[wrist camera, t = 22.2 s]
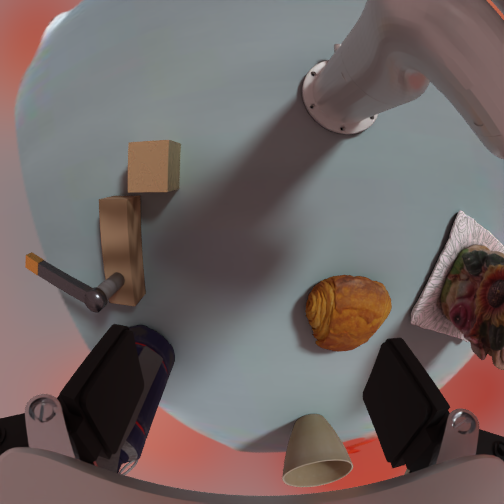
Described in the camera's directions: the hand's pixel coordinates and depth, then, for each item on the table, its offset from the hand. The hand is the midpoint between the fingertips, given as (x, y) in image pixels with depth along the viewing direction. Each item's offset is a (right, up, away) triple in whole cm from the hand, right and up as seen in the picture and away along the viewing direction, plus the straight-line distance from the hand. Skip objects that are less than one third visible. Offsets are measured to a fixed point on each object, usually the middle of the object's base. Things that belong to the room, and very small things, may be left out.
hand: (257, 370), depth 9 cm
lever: (-27, 0, +23) cm, 35 cm away
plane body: (-21, +5, +33) cm, 40 cm away
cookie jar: (+45, -2, +35) cm, 57 cm away
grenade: (-20, -14, +40) cm, 46 cm away
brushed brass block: (-14, +17, +30) cm, 37 cm away
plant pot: (+14, -37, +46) cm, 61 cm away
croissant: (+16, -5, +37) cm, 41 cm away
